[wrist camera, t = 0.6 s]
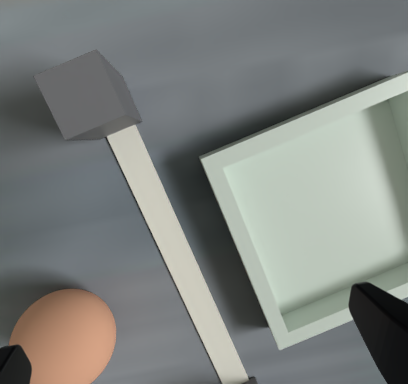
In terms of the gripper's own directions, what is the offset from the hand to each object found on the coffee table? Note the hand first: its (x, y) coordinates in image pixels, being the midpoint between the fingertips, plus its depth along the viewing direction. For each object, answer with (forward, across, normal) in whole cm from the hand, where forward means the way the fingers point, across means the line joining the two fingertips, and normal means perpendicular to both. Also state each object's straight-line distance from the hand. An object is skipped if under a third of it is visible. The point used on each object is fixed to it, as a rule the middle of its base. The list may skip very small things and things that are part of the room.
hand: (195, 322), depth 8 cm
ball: (+8, +8, +9) cm, 15 cm away
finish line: (+11, 0, +8) cm, 14 cm away
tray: (+12, -10, +5) cm, 16 cm away
